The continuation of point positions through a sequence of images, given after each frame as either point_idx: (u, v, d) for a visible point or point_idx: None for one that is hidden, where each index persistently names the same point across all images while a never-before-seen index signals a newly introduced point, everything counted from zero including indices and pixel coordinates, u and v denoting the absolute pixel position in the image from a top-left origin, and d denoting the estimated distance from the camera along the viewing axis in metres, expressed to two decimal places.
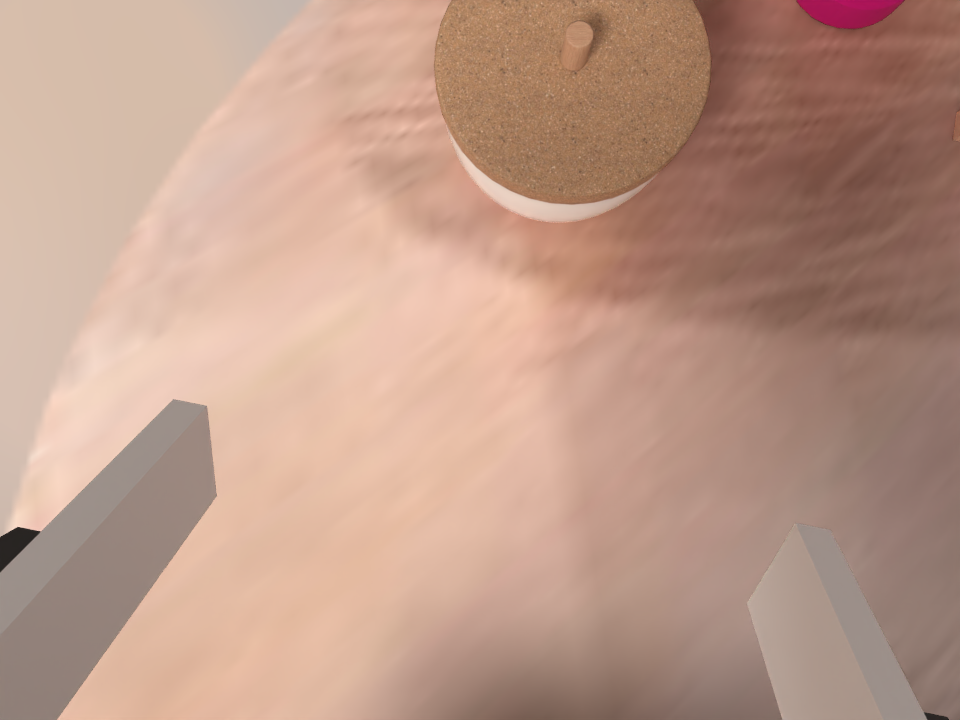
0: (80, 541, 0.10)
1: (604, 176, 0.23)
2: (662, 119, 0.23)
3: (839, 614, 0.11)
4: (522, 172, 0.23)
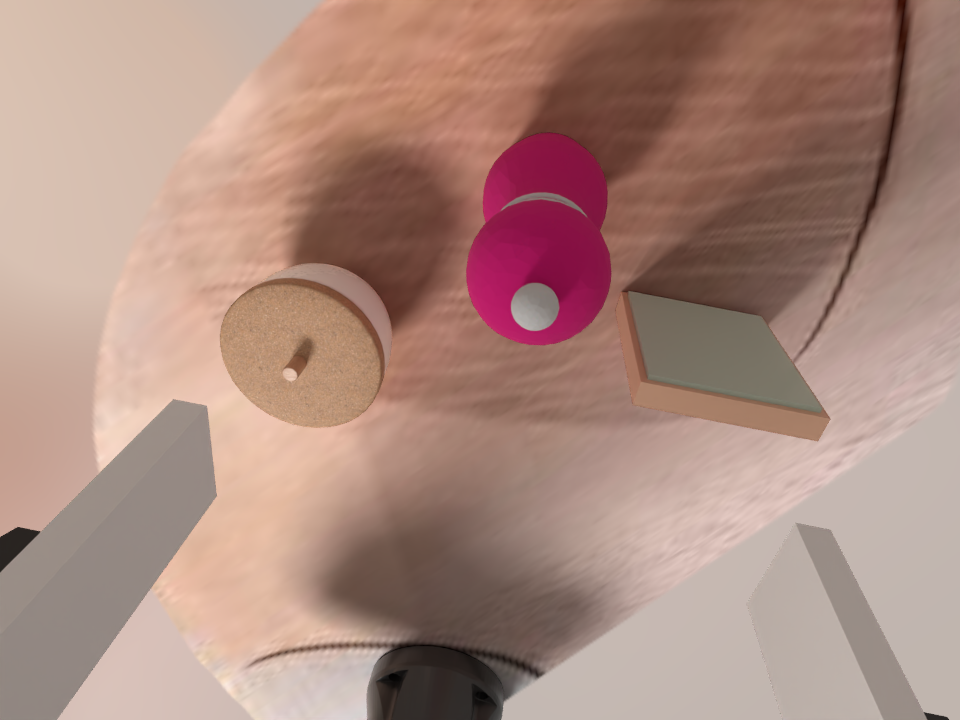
0: (80, 541, 0.10)
1: (327, 421, 0.40)
2: (354, 396, 0.39)
3: (839, 614, 0.11)
4: (284, 417, 0.41)
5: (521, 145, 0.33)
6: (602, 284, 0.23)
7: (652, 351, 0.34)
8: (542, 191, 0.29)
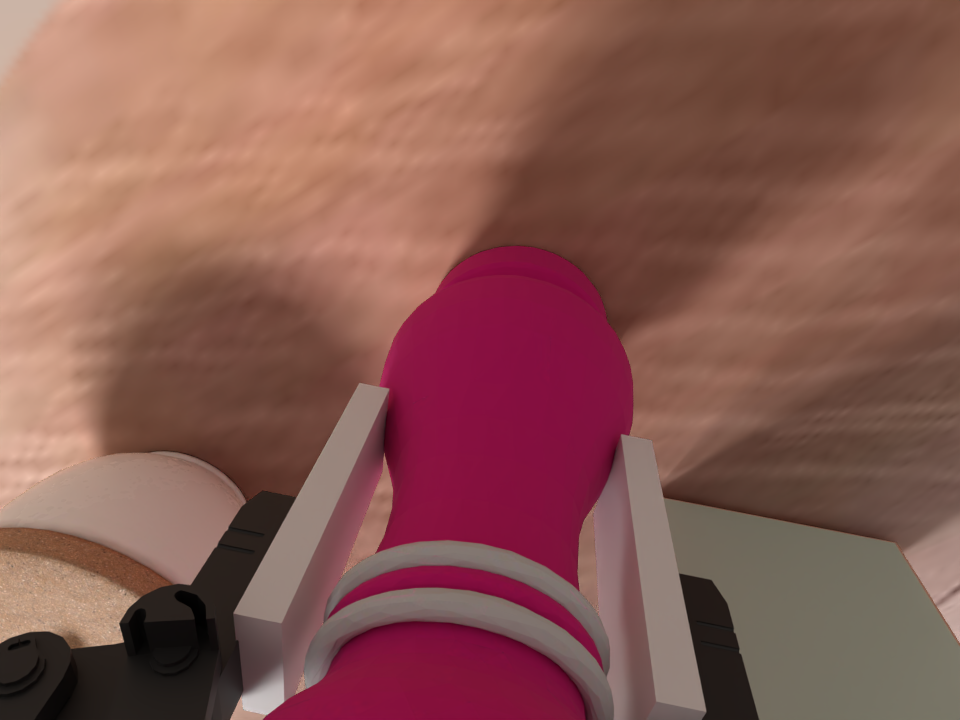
0: (333, 500, 0.11)
1: None
2: None
3: (633, 500, 0.13)
4: None
5: (449, 305, 0.15)
6: None
7: None
8: (476, 474, 0.11)
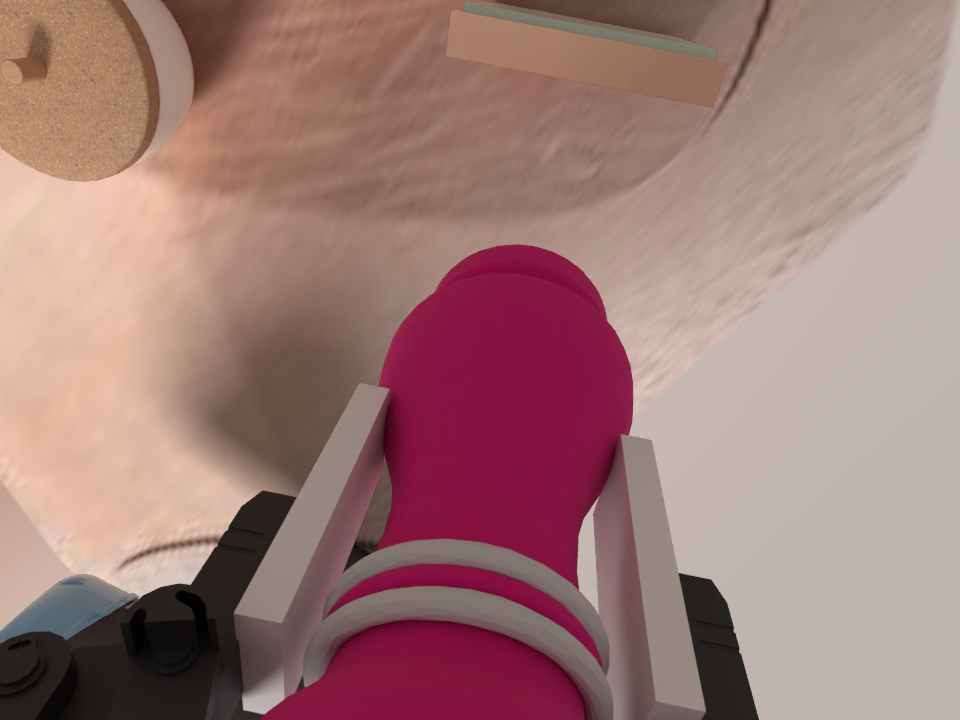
0: (334, 500, 0.11)
1: (94, 168, 0.31)
2: (118, 122, 0.29)
3: (633, 499, 0.13)
4: (38, 164, 0.31)
5: (448, 303, 0.15)
6: None
7: (488, 4, 0.24)
8: (475, 473, 0.11)
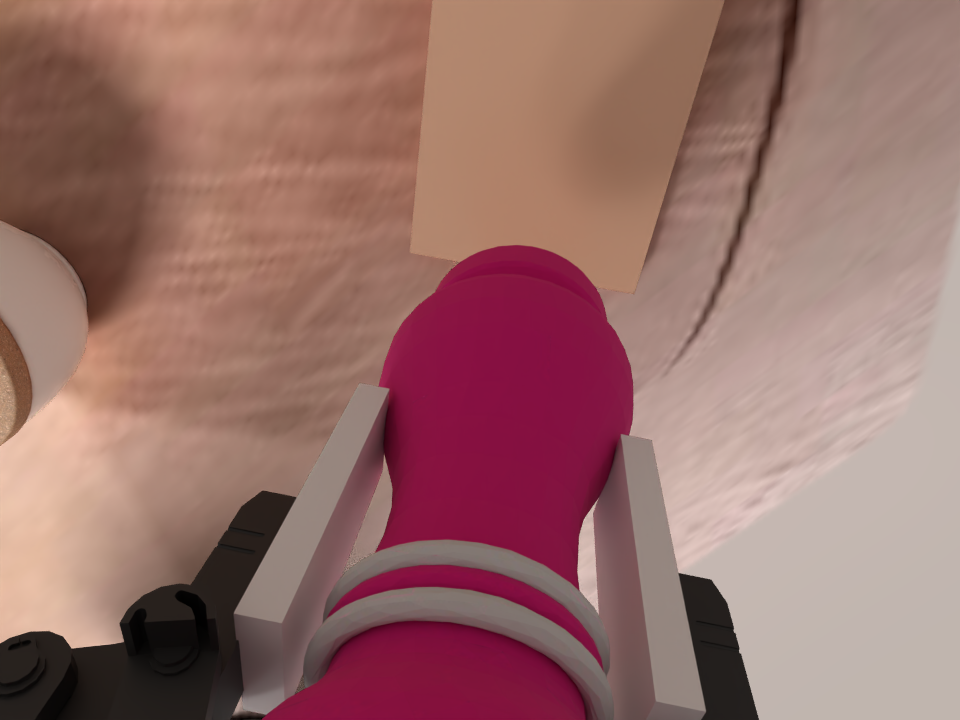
0: (334, 500, 0.11)
1: None
2: None
3: (633, 499, 0.13)
4: None
5: (449, 304, 0.15)
6: None
7: None
8: (475, 473, 0.11)
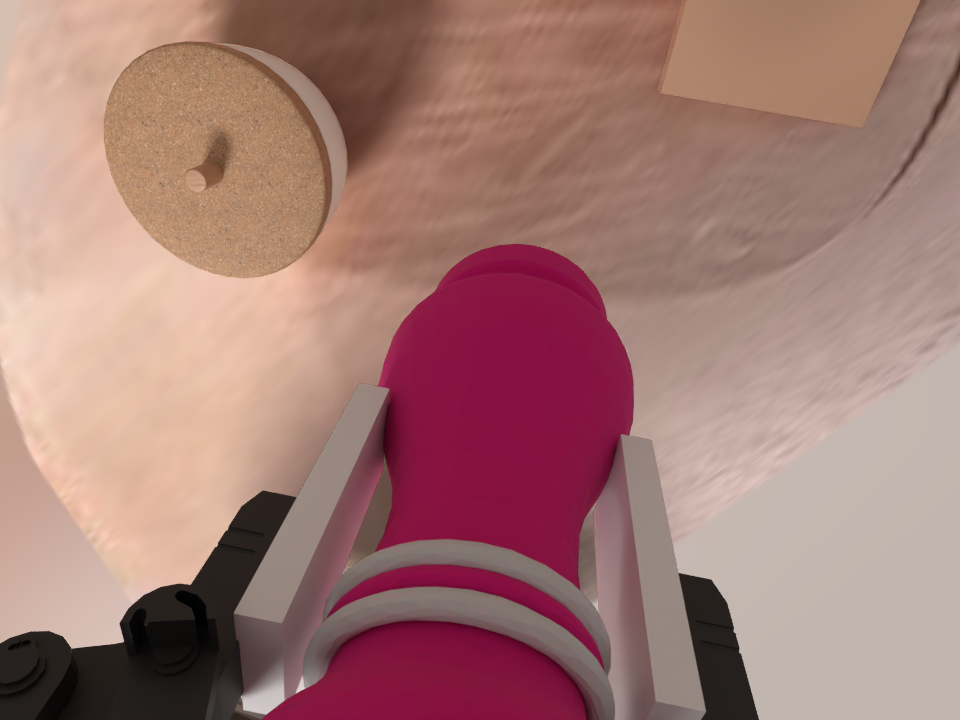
0: (334, 500, 0.11)
1: (258, 266, 0.30)
2: (291, 224, 0.29)
3: (633, 499, 0.13)
4: (200, 262, 0.30)
5: (448, 303, 0.15)
6: None
7: None
8: (476, 473, 0.11)
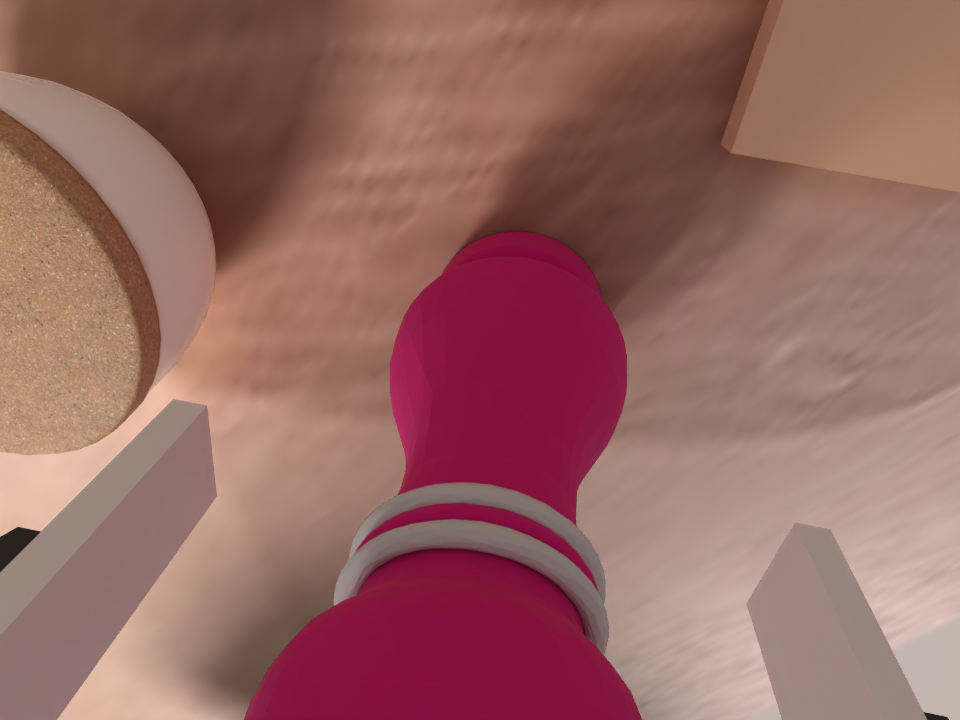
0: (80, 541, 0.10)
1: (48, 441, 0.18)
2: (88, 383, 0.16)
3: (839, 614, 0.11)
4: None
5: (455, 284, 0.16)
6: None
7: None
8: (483, 431, 0.13)
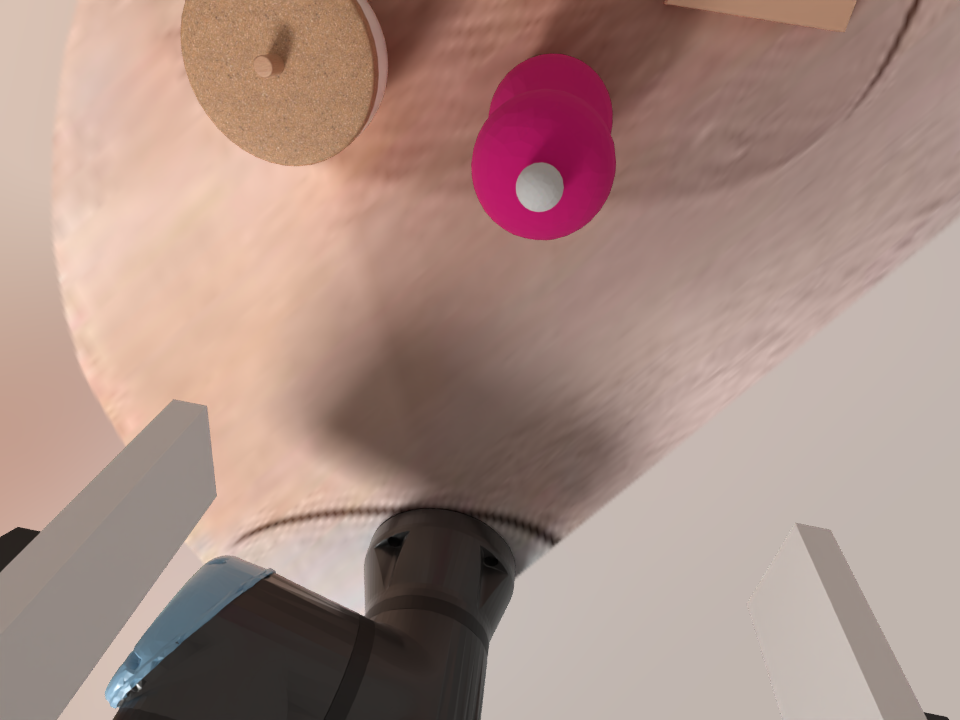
0: (80, 541, 0.10)
1: (311, 153, 0.34)
2: (342, 111, 0.33)
3: (839, 614, 0.11)
4: (259, 151, 0.34)
5: (525, 63, 0.33)
6: (606, 170, 0.23)
7: None
8: None
